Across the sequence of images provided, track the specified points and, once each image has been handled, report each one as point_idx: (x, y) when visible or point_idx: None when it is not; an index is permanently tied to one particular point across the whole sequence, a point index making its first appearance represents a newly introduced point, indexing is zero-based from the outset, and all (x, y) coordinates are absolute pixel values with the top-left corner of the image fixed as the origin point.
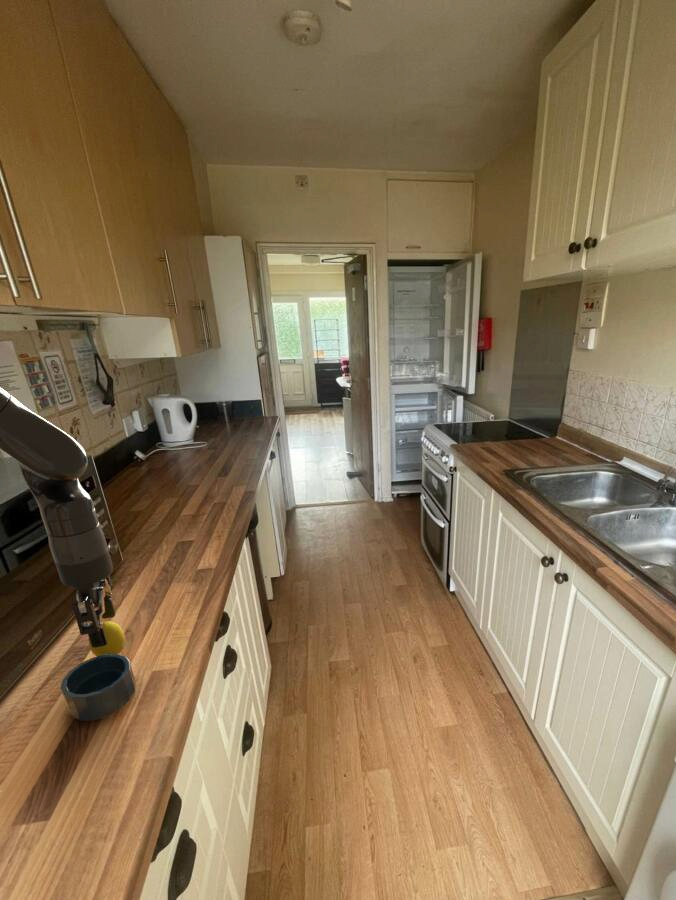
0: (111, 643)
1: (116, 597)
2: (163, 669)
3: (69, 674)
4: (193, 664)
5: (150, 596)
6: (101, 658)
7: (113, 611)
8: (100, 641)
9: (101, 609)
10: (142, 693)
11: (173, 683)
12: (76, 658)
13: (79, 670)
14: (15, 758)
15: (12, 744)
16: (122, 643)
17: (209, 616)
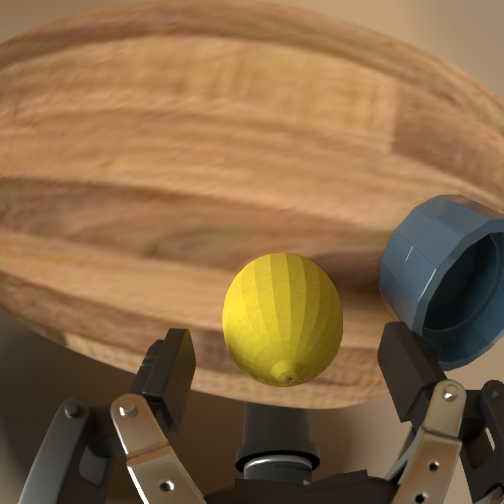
0: (338, 300)
1: (28, 299)
2: (393, 121)
3: (441, 365)
4: (395, 42)
5: (18, 219)
6: (425, 312)
7: (181, 346)
8: (425, 347)
9: (457, 457)
10: (455, 178)
11: (449, 103)
12: None
13: None
14: None
15: None
16: (306, 260)
17: (147, 5)
